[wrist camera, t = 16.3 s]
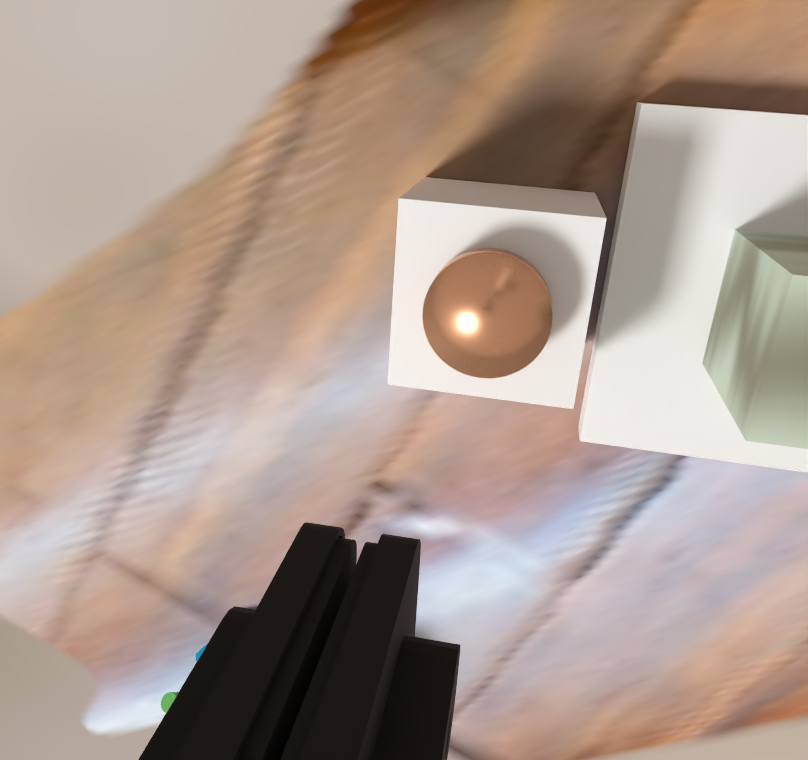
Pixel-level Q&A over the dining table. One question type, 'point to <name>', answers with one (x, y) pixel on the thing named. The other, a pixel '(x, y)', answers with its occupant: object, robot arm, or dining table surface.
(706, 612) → the dining table surface
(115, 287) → the dining table surface
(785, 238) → the block
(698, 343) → the press bed
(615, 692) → the dining table surface
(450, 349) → the press pin
